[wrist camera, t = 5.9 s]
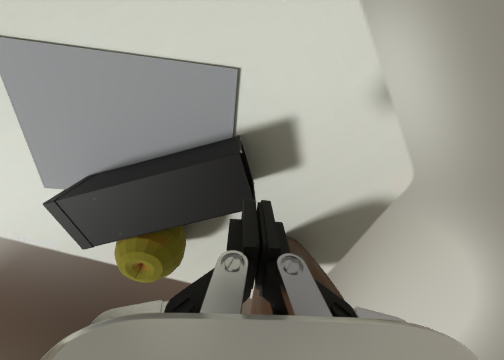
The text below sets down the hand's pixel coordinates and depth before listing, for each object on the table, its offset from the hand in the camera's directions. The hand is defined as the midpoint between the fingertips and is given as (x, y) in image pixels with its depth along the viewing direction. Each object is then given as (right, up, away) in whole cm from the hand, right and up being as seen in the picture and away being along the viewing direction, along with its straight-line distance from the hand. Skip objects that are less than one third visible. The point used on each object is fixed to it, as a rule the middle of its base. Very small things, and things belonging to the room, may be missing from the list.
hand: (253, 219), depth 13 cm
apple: (-16, -5, +24) cm, 29 cm away
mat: (-18, +9, +16) cm, 25 cm away
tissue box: (0, +4, +15) cm, 15 cm away
